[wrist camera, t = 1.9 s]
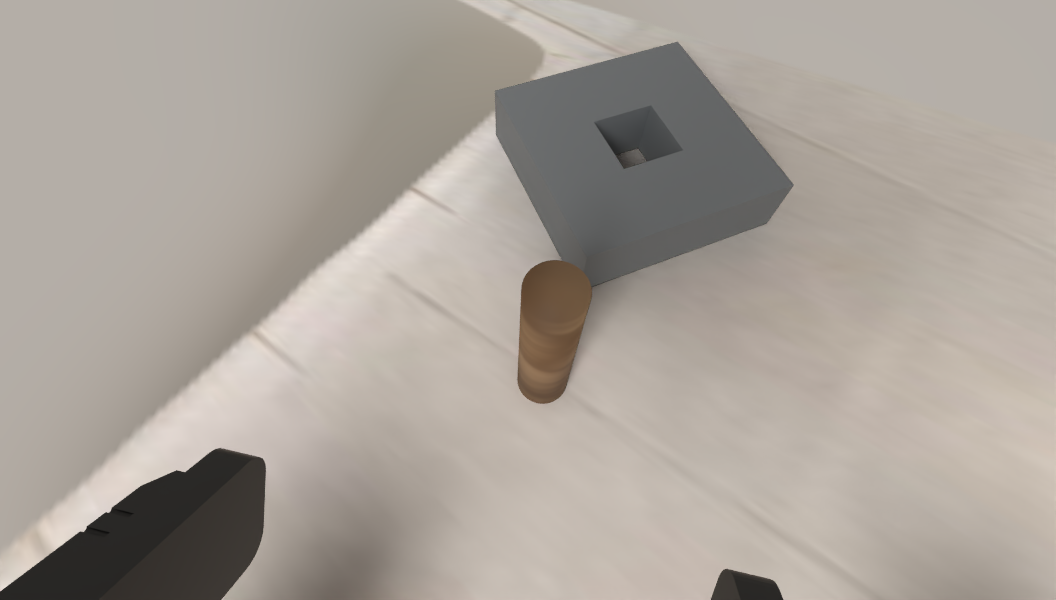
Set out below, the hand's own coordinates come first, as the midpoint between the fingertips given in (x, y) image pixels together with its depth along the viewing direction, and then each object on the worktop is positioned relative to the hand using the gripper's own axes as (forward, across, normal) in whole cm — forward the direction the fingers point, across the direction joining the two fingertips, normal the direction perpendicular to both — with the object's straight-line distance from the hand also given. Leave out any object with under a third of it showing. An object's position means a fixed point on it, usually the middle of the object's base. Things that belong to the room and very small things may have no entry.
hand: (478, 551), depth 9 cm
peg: (+25, 0, +8) cm, 26 cm away
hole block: (+37, -3, -5) cm, 38 cm away
